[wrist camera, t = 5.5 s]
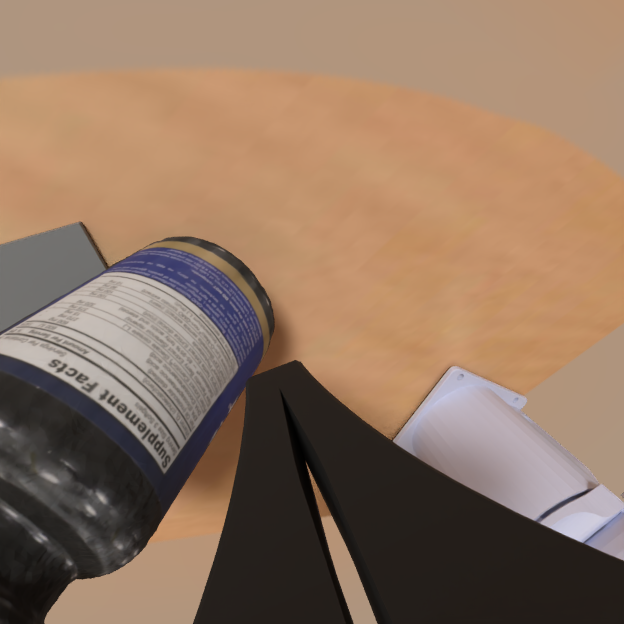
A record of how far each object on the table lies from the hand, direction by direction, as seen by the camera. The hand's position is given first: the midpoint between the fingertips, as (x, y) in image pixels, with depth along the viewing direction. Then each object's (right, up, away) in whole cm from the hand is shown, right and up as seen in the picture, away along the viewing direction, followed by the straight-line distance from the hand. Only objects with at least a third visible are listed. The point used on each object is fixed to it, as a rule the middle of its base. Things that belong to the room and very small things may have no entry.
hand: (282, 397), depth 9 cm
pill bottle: (-3, +3, +5) cm, 7 cm away
